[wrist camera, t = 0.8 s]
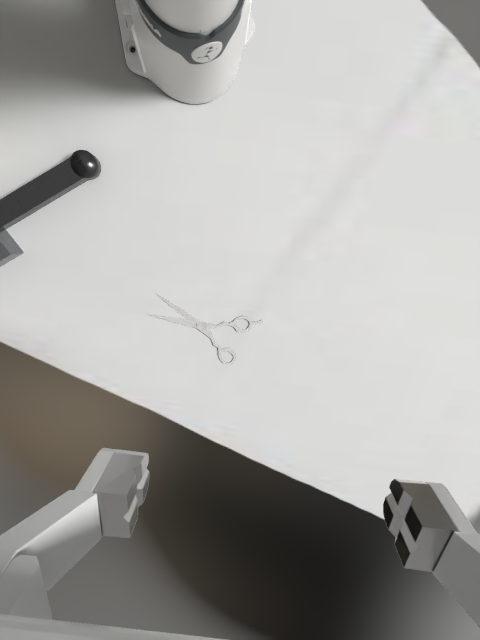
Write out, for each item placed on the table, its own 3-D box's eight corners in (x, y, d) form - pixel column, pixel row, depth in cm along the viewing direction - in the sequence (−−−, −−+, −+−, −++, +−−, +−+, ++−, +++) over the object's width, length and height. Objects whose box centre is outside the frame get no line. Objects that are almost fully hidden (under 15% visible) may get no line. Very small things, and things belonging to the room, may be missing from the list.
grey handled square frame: (-93, 223, 45) (-116, 223, 41) (74, 123, 44) (64, 114, 41) (-35, 287, 48) (-52, 292, 45) (120, 195, 47) (114, 192, 44)
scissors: (239, 369, 59) (138, 330, 54) (238, 367, 59) (139, 329, 54) (263, 321, 57) (161, 276, 51) (262, 320, 57) (161, 275, 52)
